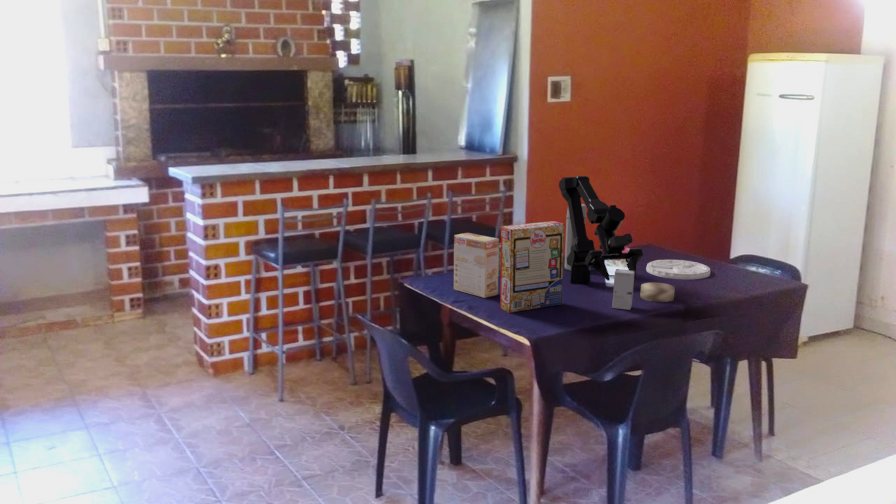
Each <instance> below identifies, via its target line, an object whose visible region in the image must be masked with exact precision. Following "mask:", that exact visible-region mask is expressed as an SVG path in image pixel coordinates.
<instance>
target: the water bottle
mask: <svg viewBox="0 0 896 504" xmlns="http://www.w3.org/2000/svg"><path fill="white" fill-rule="evenodd" d="M581 204H582V210H583V216H584V222H585V223H586V219H587V220H588V217H587V206H586V205H585V203H581ZM565 218H566V219H565V221H566V223H565V225H566V226H565V243H564V244H565V246H564V269H565V270H567V271H570V272H571V266H570V265H568V264H567V257H568V255H569V254H570V252H571V245H572V243H573V241H574V238H573V232H572V226H571V220H570V214H569V208H568V207H567V212H566V216H565Z"/></svg>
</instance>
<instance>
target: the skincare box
mask: <svg viewBox="0 0 896 504" xmlns="http://www.w3.org/2000/svg"><path fill="white" fill-rule="evenodd" d="M634 273H635V271H631V270H629V269H620V268H617V269H615V271H614V278H613V279H614V281H613V291H612V304H611V308H612V309H620V310H631V308H632V306H633V298H634V296H633V295H634V285H635V284H634V280H635V279H634Z"/></svg>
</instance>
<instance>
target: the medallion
mask: <svg viewBox="0 0 896 504" xmlns="http://www.w3.org/2000/svg"><path fill="white" fill-rule="evenodd" d="M645 270H646V272H647V273H648V274H651V275H653V276H657V277H660V278H665V279H671V280H699V279H700V280H701V279H705V278H708V277H710V276H711V268H710V267H709V266H708V265H705V264H704V263H700V262H695V261H692V260H685V259H656V260H653V261H649V262H647V265H646V268H645Z"/></svg>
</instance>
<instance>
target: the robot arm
mask: <svg viewBox="0 0 896 504" xmlns="http://www.w3.org/2000/svg"><path fill="white" fill-rule="evenodd" d="M558 188H559V190H560V193H561V196H562V198H563V199H564V200H565V201H566V202H567V209H568V208H569V214H570V220H571V226H572V232H573V238H574V241H573V243H572V245H571V252H570V254H569V255H568V257H567V264H568V265H570V266H571V271H570V281H569V283H571V284H584V285H588V284H590V283H589V282H591V271H592V270H591V269H594V270H595V271H596V272H597V273H599V274H600V275H601V276H602V277H603V278H604V279H605V280H606V281H608V282H610V280H611V278H610V274H609V272H608V268H607V266H606V263H605V261H615V260H625V263H627V264H626V266H627V270H631V271H635V273H634V280H636V278H637V265H638V263H639V262H640V261H641V260H642V258H643V257H644V255H645V254H644V253H645V252H644V251H643V249H642V248H640V247H632V248H630V249H629V250H628V251H627V252H623V251H625V249H626V248H625V247H626V246H629V245H630V244H632V243H633V236H632V234H631V233H625V234H623V235H617V233H616V231H617V230H618V229H619V228H620V226H621V225H622V223H623V221H624V219H625V218H626V214H625V212H624V211H623V210H622V209H621V208H619V207H617V205H615V204H610V205H609V206H608V204H607V203H606V202H604V201H602V200H601V199H600V198H599V196H598V194H597V192H596V191H595V189H594V187H593V186H592V184H591V182H590V177H589V176H587V175H576V176H563V177H562V178H561V180H559V183H558ZM581 199H582V200H581ZM582 201H583V203H582ZM582 204H584V205H586V218H587V220H588V222H589V223H590V225H591V224H592V225H597V226H596V227H595V230H594V232H593V233H594V236H597V237H598V240H599V243H600V245H599V249H596V247H595V243H594V240H593V239H590V238H589V237H588V235H587V228H586V221H585V222H584V216H583V210H582Z"/></svg>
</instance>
